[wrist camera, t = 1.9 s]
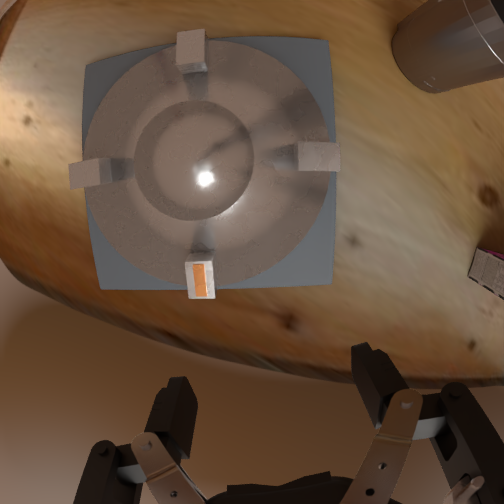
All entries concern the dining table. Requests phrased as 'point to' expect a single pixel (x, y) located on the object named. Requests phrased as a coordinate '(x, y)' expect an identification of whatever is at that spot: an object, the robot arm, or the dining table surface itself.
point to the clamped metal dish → (206, 163)
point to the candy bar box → (488, 271)
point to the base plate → (323, 230)
